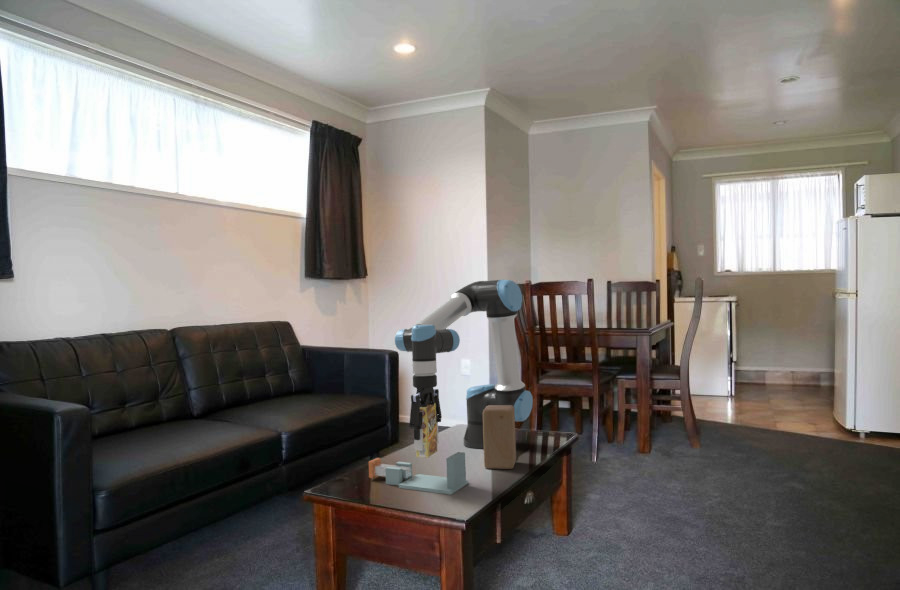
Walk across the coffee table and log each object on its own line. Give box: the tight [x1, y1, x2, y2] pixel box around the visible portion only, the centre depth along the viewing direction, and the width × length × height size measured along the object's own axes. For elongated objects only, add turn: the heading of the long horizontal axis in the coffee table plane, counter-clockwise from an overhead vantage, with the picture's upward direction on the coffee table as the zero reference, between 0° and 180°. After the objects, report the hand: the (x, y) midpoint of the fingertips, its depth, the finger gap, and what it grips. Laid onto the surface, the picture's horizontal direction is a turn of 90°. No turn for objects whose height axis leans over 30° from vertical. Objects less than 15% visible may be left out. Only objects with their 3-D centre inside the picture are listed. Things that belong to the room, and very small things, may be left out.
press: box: [385, 451, 469, 495], centre depth 188 cm, size 12×24×10 cm, turn 63°
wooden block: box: [483, 405, 517, 470], centre depth 207 cm, size 10×10×20 cm
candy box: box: [415, 404, 438, 459], centre depth 188 cm, size 9×4×15 cm, turn 162°
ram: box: [368, 457, 411, 480], centre depth 194 cm, size 5×13×5 cm, turn 63°
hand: (426, 446), depth 188 cm, fingers closed on candy box, 9 cm apart
